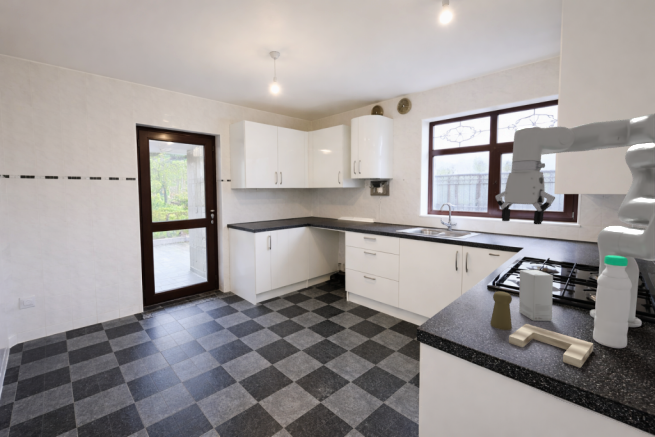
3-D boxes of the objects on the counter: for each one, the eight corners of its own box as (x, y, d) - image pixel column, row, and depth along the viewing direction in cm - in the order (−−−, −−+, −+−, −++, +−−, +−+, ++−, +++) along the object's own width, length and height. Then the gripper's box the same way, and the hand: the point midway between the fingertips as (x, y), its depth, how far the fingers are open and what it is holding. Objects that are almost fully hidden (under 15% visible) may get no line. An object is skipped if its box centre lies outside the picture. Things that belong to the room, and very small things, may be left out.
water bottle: (630, 352, 81) (638, 260, 79) (595, 345, 85) (602, 257, 83) (622, 341, 87) (629, 255, 85) (590, 335, 91) (596, 252, 89)
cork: (515, 331, 94) (517, 296, 93) (493, 329, 95) (495, 295, 94) (507, 322, 99) (509, 290, 99) (487, 321, 101) (489, 289, 100)
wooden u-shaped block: (525, 329, 94) (525, 323, 94) (592, 350, 82) (593, 343, 82) (508, 342, 86) (509, 336, 86) (580, 367, 74) (581, 360, 74)
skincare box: (552, 321, 100) (555, 275, 99) (531, 321, 101) (534, 275, 99) (535, 311, 109) (538, 269, 107) (517, 311, 109) (519, 269, 108)
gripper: (563, 167, 89) (558, 225, 90) (505, 170, 104) (501, 220, 105) (550, 165, 85) (544, 225, 87) (491, 168, 100) (487, 220, 102)
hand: (520, 222), depth 96 cm, fingers open, 9 cm apart
